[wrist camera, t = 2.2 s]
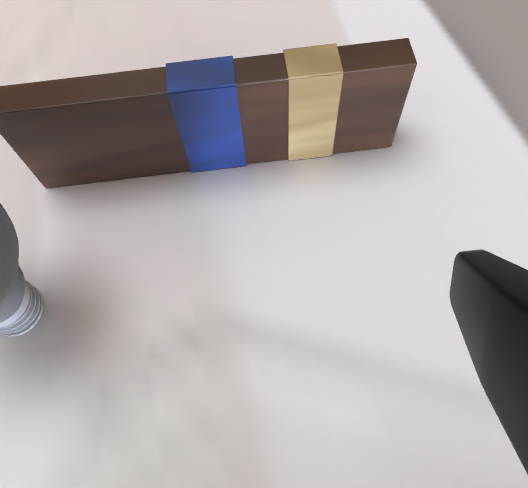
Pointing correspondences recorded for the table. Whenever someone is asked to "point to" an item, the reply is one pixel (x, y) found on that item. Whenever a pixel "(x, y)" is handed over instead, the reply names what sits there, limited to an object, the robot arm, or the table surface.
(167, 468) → the table surface
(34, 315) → the light bulb
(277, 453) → the table surface
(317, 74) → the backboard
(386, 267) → the table surface
